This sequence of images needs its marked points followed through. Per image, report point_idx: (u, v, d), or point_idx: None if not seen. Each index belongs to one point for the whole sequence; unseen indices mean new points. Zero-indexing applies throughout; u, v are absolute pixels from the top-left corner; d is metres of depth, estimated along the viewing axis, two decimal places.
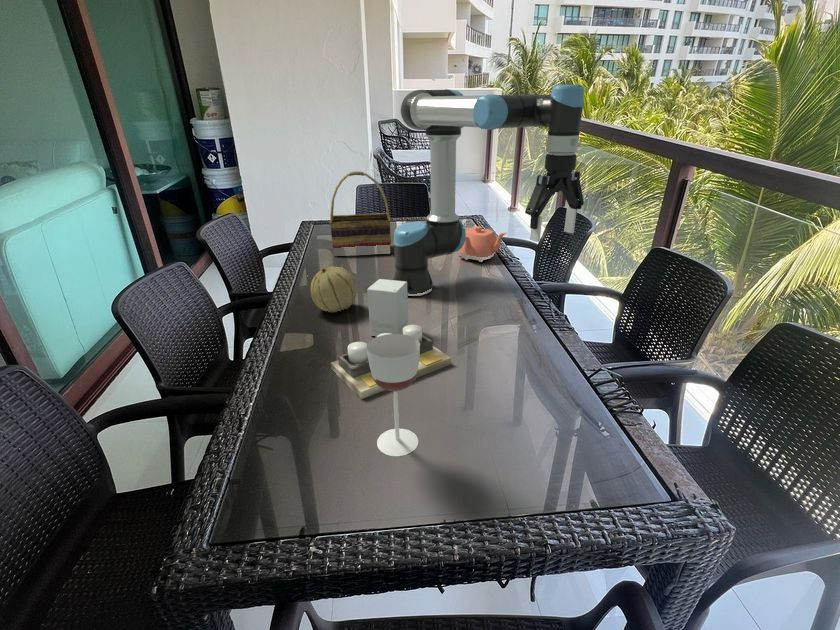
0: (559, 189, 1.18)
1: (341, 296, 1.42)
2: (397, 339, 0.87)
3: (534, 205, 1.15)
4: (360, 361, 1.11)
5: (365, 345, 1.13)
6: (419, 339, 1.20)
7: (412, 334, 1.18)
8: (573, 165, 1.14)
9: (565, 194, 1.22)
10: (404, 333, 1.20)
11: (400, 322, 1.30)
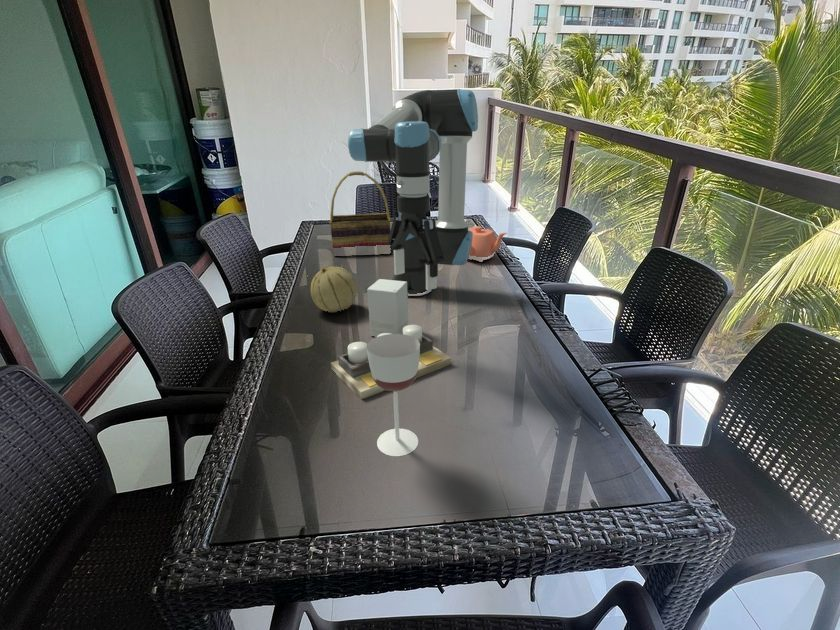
0: (408, 231, 1.09)
1: (341, 296, 1.42)
2: (397, 339, 0.87)
3: None
4: (360, 361, 1.11)
5: (365, 345, 1.13)
6: (419, 339, 1.20)
7: (412, 334, 1.18)
8: (401, 208, 1.05)
9: None
10: (404, 333, 1.20)
11: (400, 322, 1.30)
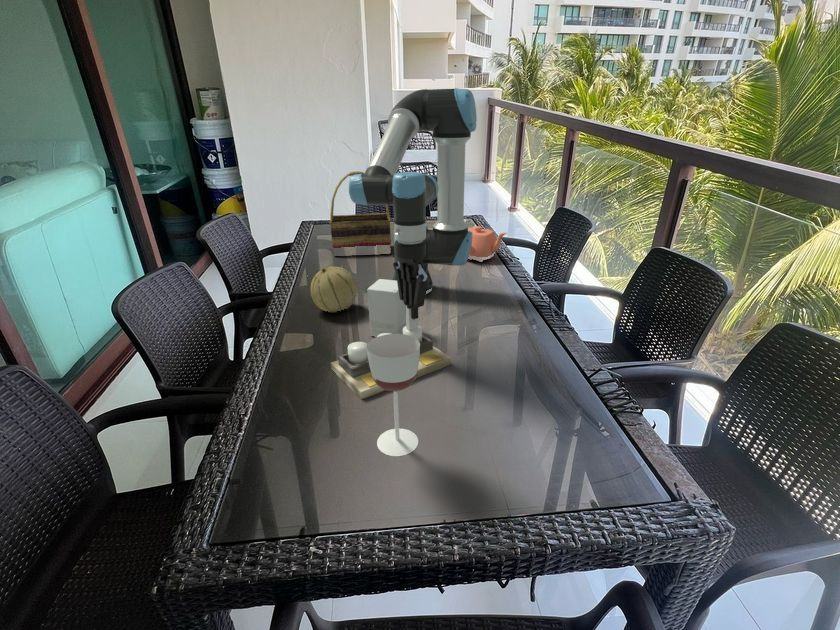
0: (406, 274, 1.14)
1: (341, 296, 1.42)
2: (397, 339, 0.87)
3: None
4: (360, 361, 1.11)
5: (365, 345, 1.13)
6: (419, 339, 1.20)
7: (412, 334, 1.18)
8: (398, 253, 1.09)
9: None
10: (404, 333, 1.20)
11: (400, 322, 1.30)
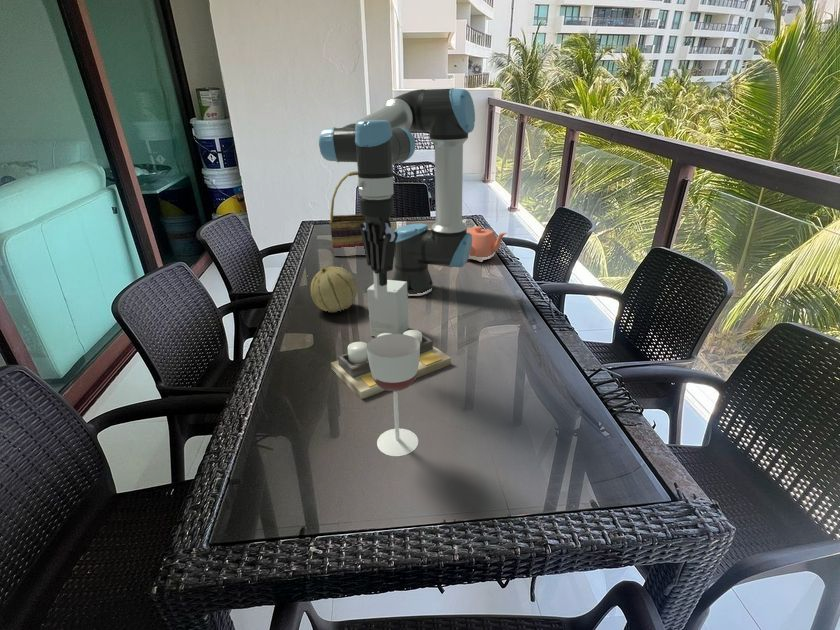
0: (372, 235, 1.04)
1: (341, 296, 1.42)
2: (397, 339, 0.87)
3: None
4: (360, 361, 1.11)
5: (365, 345, 1.13)
6: None
7: None
8: (363, 211, 1.00)
9: None
10: None
11: (400, 322, 1.30)
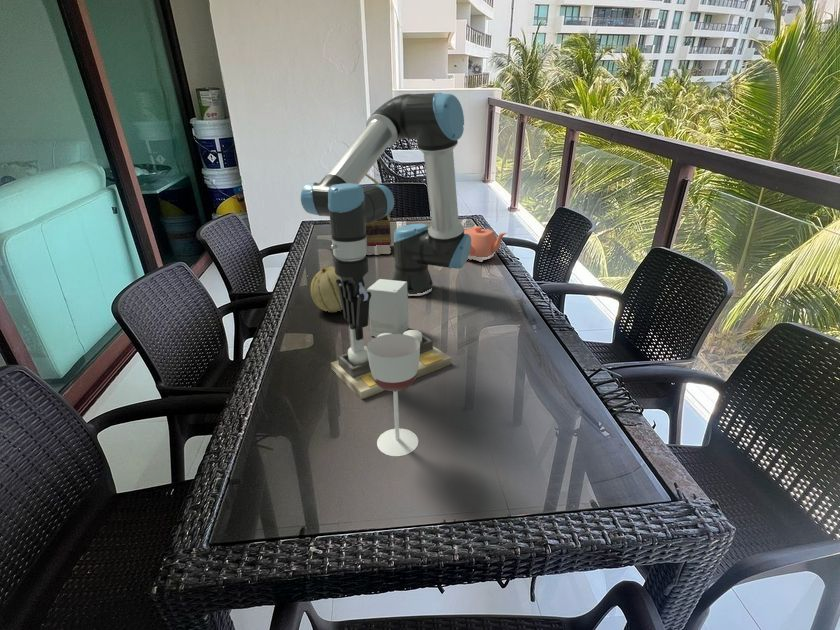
0: (348, 292, 1.06)
1: None
2: (397, 339, 0.87)
3: None
4: (360, 364, 1.12)
5: (365, 348, 1.13)
6: None
7: None
8: (337, 271, 1.01)
9: None
10: None
11: (400, 322, 1.30)
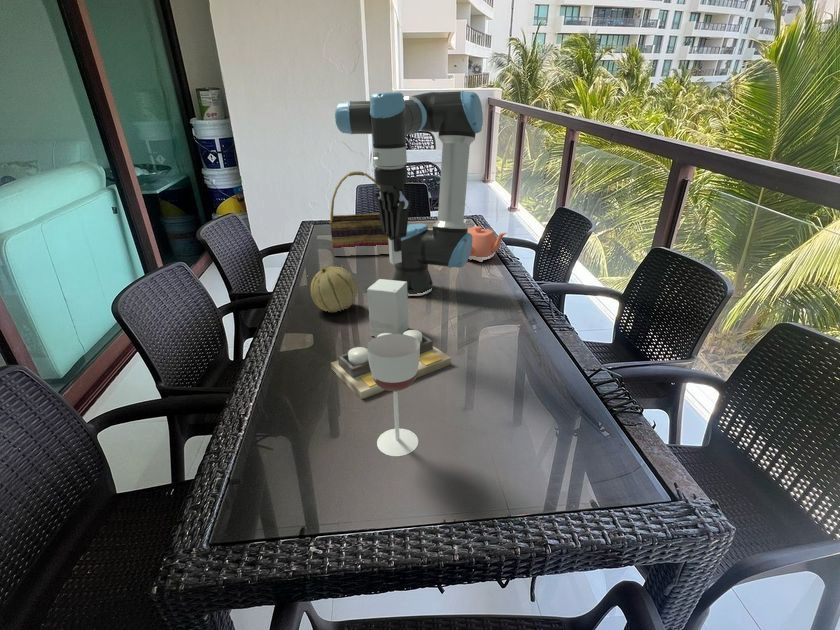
0: (387, 203, 1.11)
1: (341, 296, 1.42)
2: (397, 339, 0.87)
3: None
4: None
5: (365, 351, 1.13)
6: None
7: None
8: (378, 180, 1.06)
9: None
10: None
11: (400, 322, 1.30)
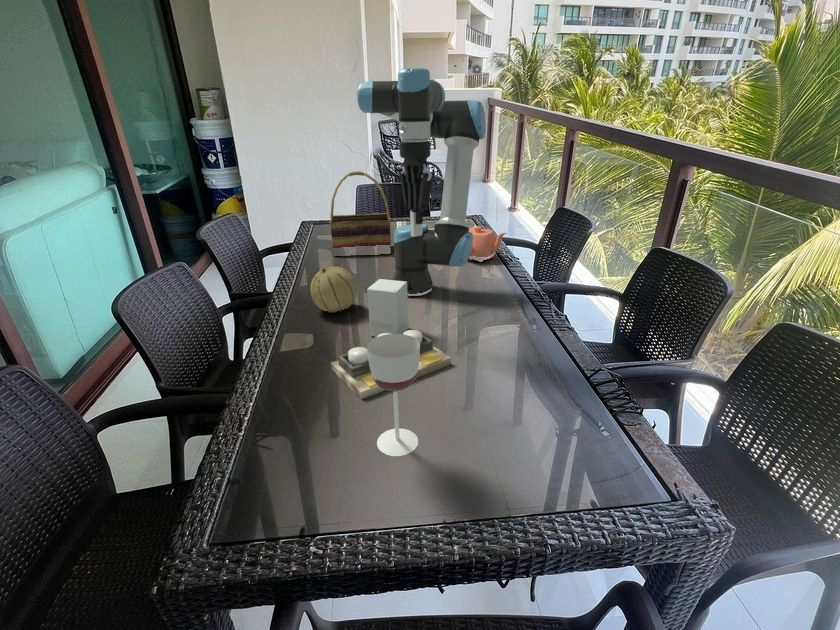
0: (410, 177, 1.16)
1: (341, 296, 1.42)
2: (397, 339, 0.87)
3: None
4: None
5: (365, 351, 1.13)
6: None
7: None
8: (403, 152, 1.11)
9: None
10: None
11: (400, 322, 1.30)
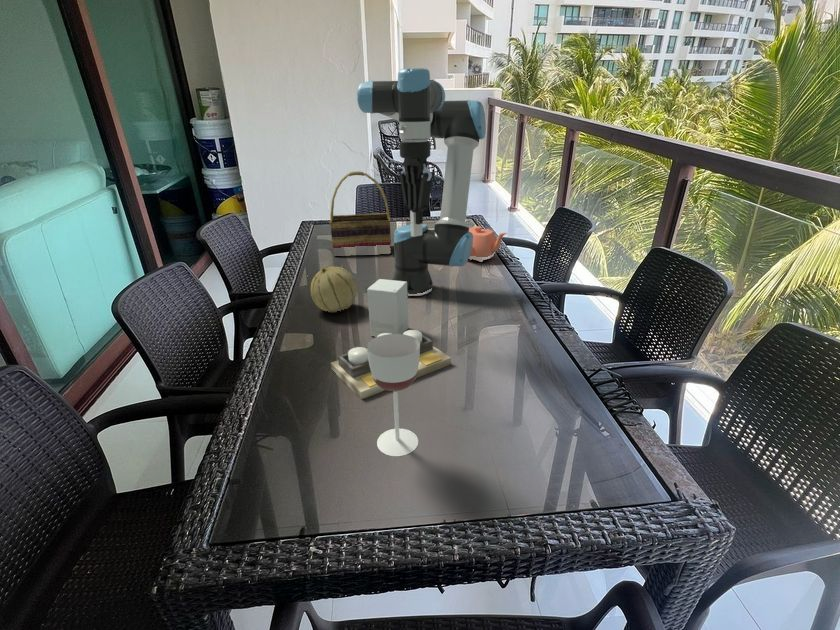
0: (410, 177, 1.16)
1: (341, 296, 1.42)
2: (397, 339, 0.87)
3: None
4: None
5: (365, 351, 1.13)
6: None
7: None
8: (403, 152, 1.11)
9: None
10: None
11: (400, 322, 1.30)
